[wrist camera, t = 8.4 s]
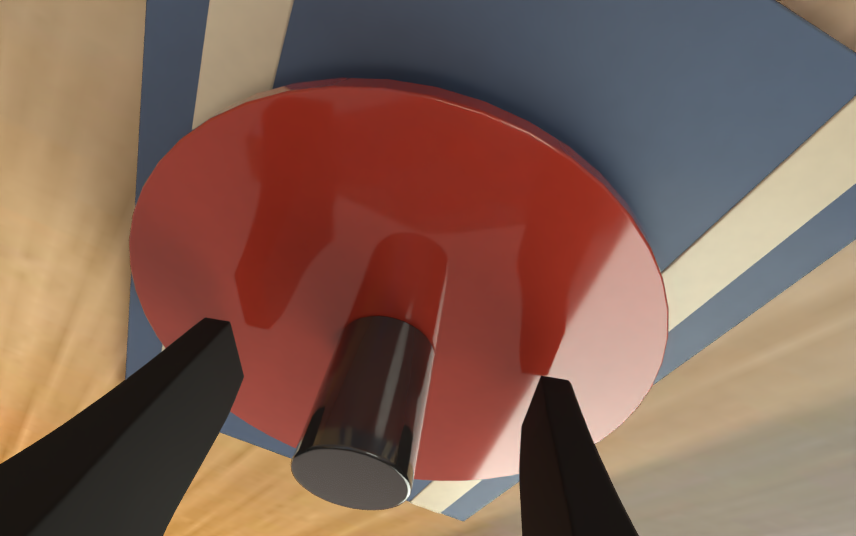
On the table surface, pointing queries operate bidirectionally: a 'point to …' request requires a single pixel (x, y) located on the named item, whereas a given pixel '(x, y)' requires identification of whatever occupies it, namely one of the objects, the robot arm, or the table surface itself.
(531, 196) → the lid
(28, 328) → the table surface
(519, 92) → the towel
